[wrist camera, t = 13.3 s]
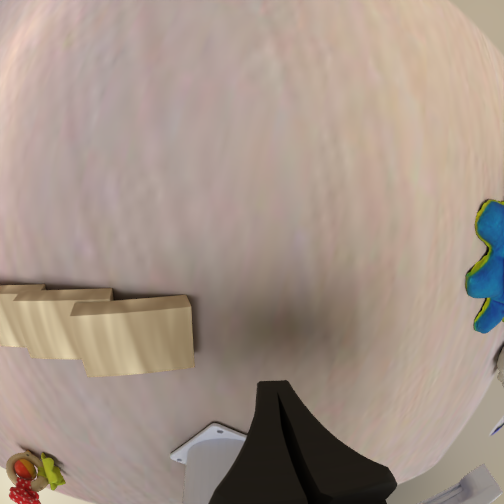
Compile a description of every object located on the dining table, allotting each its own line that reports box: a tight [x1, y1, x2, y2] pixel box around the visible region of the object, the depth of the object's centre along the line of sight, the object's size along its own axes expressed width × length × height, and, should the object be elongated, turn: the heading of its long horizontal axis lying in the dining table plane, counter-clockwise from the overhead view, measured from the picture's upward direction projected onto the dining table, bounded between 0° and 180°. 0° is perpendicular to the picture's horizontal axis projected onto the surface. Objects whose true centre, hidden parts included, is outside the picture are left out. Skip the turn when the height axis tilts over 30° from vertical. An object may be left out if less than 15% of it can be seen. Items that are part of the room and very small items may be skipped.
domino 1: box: [0, 284, 46, 347], centre depth 15 cm, size 2×4×7 cm
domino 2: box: [13, 288, 114, 359], centre depth 15 cm, size 2×4×7 cm
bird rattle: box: [6, 450, 65, 504], centre depth 19 cm, size 6×11×9 cm
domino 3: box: [70, 295, 195, 377], centre depth 15 cm, size 2×4×7 cm
